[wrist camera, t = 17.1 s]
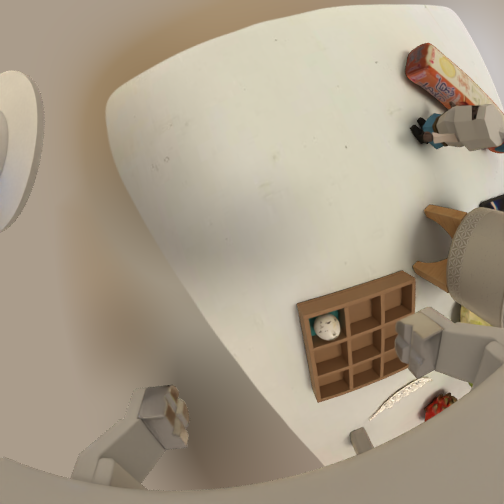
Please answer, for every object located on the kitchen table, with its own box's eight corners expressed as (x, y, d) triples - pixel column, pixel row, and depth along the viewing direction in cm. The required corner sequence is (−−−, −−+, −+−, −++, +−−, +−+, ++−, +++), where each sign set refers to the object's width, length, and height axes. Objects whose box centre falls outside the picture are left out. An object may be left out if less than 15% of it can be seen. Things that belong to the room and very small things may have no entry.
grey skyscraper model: (364, 426, 43) (385, 469, 31) (364, 438, 44) (383, 478, 33) (349, 432, 43) (369, 476, 31) (351, 443, 44) (368, 484, 33)
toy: (424, 101, 28) (501, 82, 13) (447, 136, 29) (524, 131, 15) (394, 134, 29) (479, 120, 15) (420, 170, 30) (504, 176, 16)
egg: (308, 329, 34) (319, 351, 29) (312, 308, 33) (324, 327, 29) (331, 328, 34) (344, 349, 30) (335, 307, 34) (349, 326, 29)
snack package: (399, 79, 27) (428, 66, 20) (406, 48, 26) (432, 33, 19) (486, 154, 30) (514, 155, 24) (490, 124, 29) (517, 122, 22)
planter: (473, 248, 34) (550, 283, 17) (426, 299, 36) (502, 356, 19) (450, 182, 31) (545, 198, 14) (397, 235, 33) (497, 279, 15)
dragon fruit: (438, 379, 44) (425, 407, 49) (425, 407, 39) (410, 432, 44) (469, 389, 38) (451, 416, 43) (457, 420, 33) (438, 443, 38)
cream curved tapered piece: (430, 367, 40) (434, 372, 39) (430, 380, 41) (434, 384, 40) (364, 408, 41) (367, 414, 40) (368, 419, 42) (371, 424, 41)
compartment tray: (296, 303, 34) (303, 316, 31) (402, 270, 34) (415, 278, 31) (312, 388, 38) (317, 402, 35) (400, 355, 38) (409, 366, 35)
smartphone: (481, 203, 32) (517, 190, 32) (478, 203, 32) (515, 190, 32) (482, 244, 34) (518, 225, 33) (479, 243, 34) (516, 224, 34)
